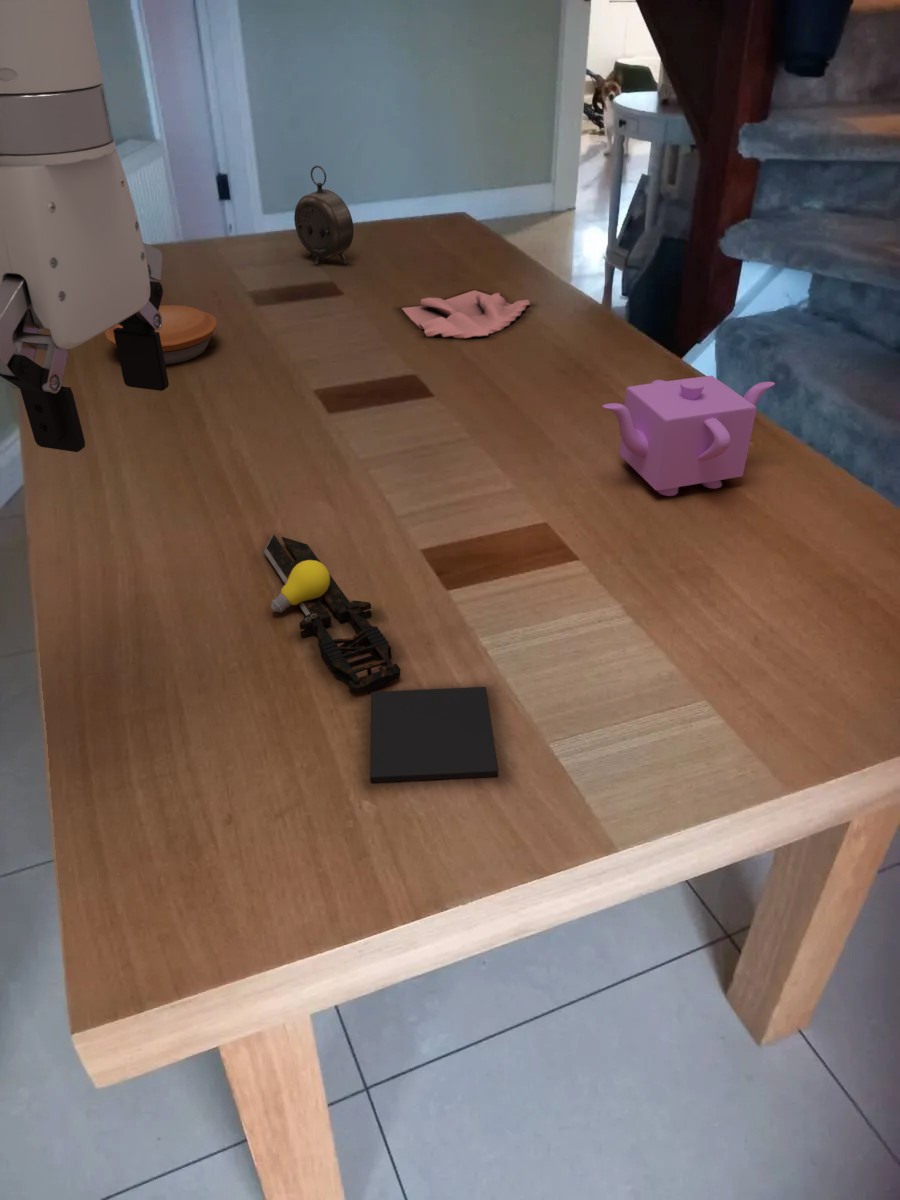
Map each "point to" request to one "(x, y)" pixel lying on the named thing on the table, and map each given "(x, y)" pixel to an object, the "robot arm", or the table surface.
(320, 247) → the alarm clock
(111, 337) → the pie
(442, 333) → the cloth
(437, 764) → the coaster
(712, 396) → the teapot
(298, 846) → the table surface
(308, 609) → the knife
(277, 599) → the light bulb
